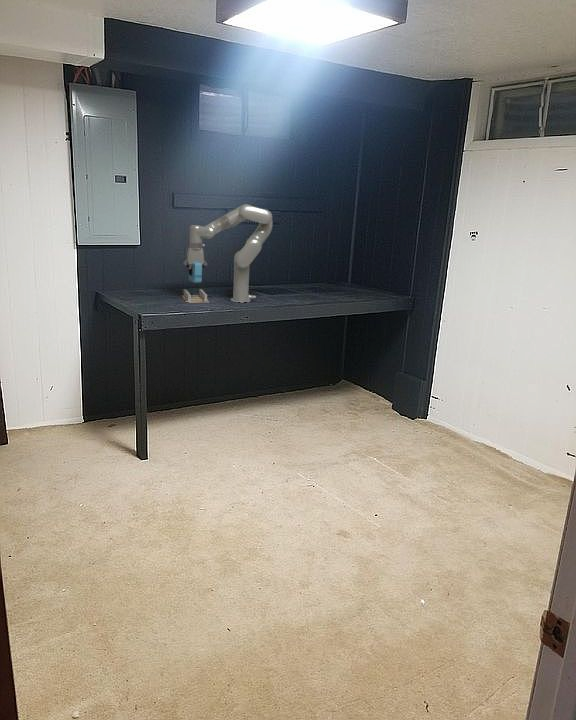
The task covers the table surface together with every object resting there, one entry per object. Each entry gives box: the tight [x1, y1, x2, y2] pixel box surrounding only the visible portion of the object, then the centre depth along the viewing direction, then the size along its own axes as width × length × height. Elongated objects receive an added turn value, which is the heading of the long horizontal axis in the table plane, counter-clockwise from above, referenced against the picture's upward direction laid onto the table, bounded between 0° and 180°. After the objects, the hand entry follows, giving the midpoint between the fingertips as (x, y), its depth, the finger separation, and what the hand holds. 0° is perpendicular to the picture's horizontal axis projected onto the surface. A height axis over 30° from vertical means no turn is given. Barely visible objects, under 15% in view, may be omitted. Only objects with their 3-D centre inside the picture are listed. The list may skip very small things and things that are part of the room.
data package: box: [188, 263, 203, 284], centre depth 361 cm, size 12×4×12 cm, turn 27°
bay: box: [181, 288, 210, 304], centre depth 365 cm, size 20×14×5 cm
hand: (195, 275), depth 362 cm, fingers closed on data package, 5 cm apart
